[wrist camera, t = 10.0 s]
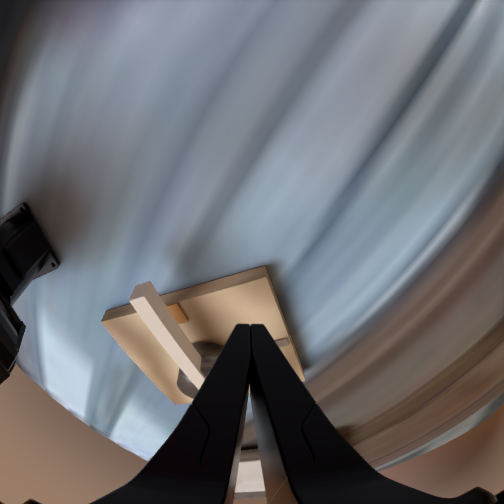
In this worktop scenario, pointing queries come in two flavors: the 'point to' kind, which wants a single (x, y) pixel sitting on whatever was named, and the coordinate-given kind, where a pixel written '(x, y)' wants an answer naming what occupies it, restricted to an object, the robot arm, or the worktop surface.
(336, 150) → the worktop surface
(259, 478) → the square plate
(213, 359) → the wooden latch lever
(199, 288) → the board
